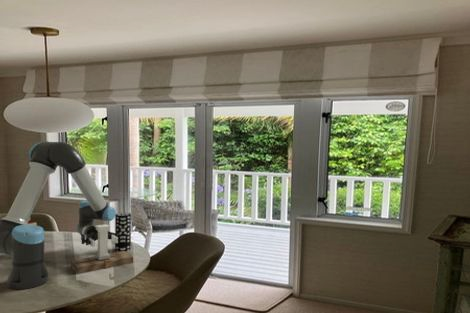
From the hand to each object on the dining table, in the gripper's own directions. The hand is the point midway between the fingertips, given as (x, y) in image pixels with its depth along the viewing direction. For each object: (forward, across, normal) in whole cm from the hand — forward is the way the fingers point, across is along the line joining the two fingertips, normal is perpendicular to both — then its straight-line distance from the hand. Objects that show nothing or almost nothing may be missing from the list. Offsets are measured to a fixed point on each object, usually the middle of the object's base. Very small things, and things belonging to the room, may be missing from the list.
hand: (105, 242), depth 166 cm
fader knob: (-4, 0, -8) cm, 9 cm away
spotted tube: (-22, -17, -12) cm, 31 cm away
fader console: (-4, 0, -12) cm, 13 cm away
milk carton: (-42, +26, -12) cm, 51 cm away
